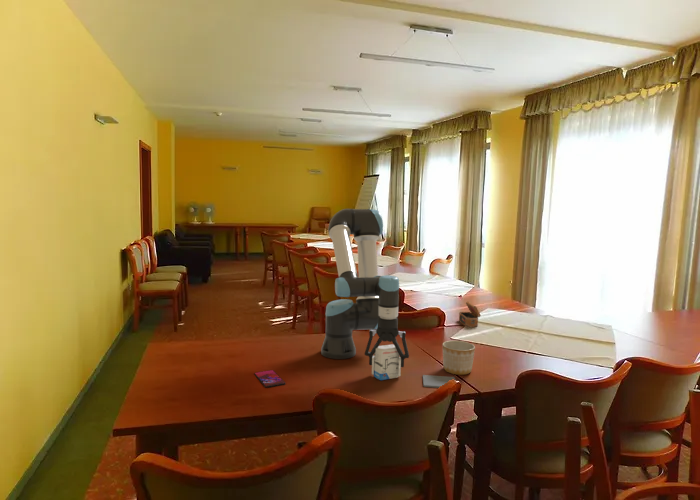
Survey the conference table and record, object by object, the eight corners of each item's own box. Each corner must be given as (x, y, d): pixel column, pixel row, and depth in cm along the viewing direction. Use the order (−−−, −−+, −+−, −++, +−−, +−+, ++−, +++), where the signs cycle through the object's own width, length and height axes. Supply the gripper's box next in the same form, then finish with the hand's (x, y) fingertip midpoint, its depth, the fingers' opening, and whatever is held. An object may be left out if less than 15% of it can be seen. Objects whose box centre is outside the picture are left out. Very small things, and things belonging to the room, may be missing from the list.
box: (436, 318, 269) (437, 298, 268) (482, 317, 273) (483, 298, 271) (451, 331, 242) (452, 309, 240) (503, 331, 245) (504, 309, 244)
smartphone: (273, 369, 181) (286, 383, 168) (273, 371, 181) (286, 385, 168) (253, 372, 178) (265, 386, 165) (253, 375, 178) (265, 389, 165)
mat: (423, 386, 169) (423, 385, 169) (422, 376, 179) (422, 374, 179) (457, 389, 167) (457, 387, 167) (454, 378, 177) (454, 377, 177)
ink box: (379, 381, 173) (380, 350, 172) (373, 376, 178) (374, 346, 176) (399, 377, 177) (400, 347, 176) (392, 372, 182) (393, 343, 180)
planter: (439, 364, 192) (440, 339, 191) (469, 365, 192) (470, 340, 191) (444, 375, 180) (445, 349, 179) (477, 377, 179) (478, 350, 178)
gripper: (357, 317, 173) (356, 375, 175) (417, 321, 170) (415, 379, 172) (359, 312, 180) (358, 368, 183) (417, 315, 177) (415, 372, 180)
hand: (386, 374), depth 177 cm, fingers closed on ink box, 9 cm apart
